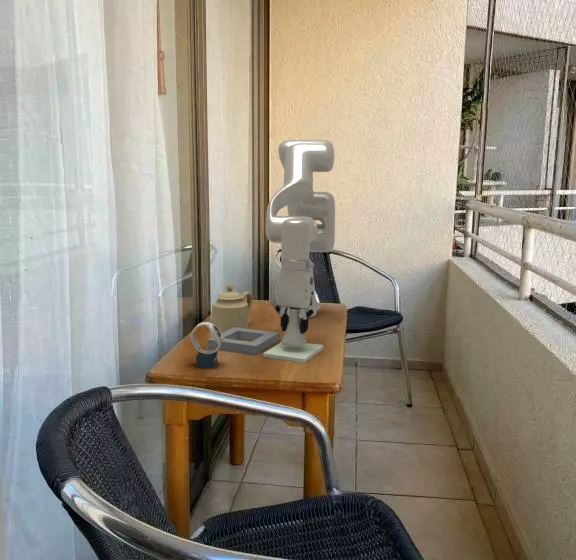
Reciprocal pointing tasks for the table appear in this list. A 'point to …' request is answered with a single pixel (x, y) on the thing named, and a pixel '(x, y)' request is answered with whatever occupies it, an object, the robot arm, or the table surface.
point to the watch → (207, 356)
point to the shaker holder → (258, 338)
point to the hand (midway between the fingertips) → (294, 330)
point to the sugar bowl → (231, 309)
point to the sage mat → (294, 352)
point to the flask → (294, 330)
